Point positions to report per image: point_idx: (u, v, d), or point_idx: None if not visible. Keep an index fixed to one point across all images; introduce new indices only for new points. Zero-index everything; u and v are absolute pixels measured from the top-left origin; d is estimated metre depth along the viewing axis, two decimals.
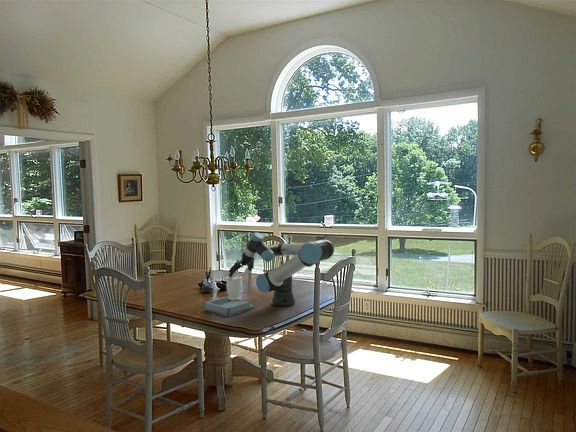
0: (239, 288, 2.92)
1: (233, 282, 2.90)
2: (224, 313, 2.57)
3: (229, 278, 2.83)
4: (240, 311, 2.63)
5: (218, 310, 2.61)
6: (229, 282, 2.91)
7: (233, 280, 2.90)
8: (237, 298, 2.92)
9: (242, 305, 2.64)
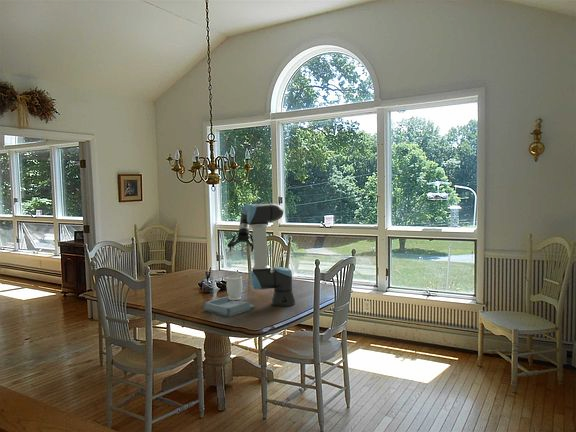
0: (239, 288, 2.92)
1: (233, 282, 2.90)
2: (224, 313, 2.57)
3: None
4: (240, 311, 2.63)
5: (218, 310, 2.61)
6: (229, 282, 2.91)
7: (233, 280, 2.90)
8: (237, 298, 2.92)
9: (242, 305, 2.64)
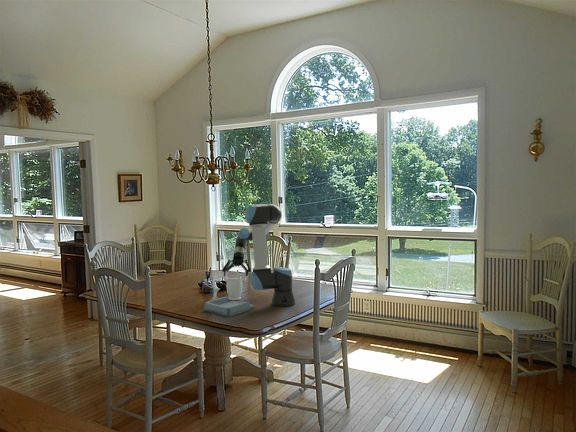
0: (239, 288, 2.92)
1: (233, 282, 2.90)
2: (224, 313, 2.57)
3: None
4: (240, 311, 2.63)
5: (218, 310, 2.61)
6: (229, 282, 2.91)
7: (233, 280, 2.90)
8: (237, 298, 2.92)
9: (242, 305, 2.64)
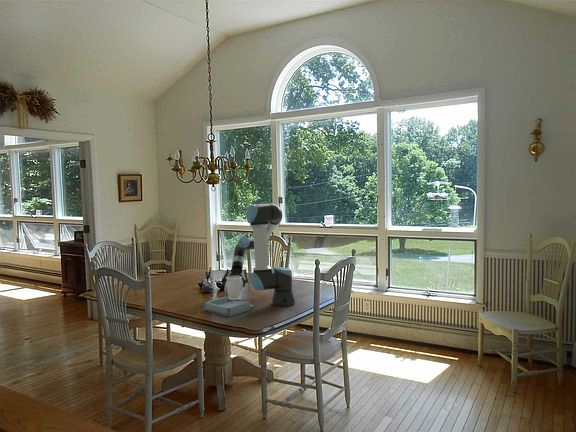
0: (239, 288, 2.92)
1: (233, 282, 2.90)
2: (224, 313, 2.57)
3: None
4: (240, 311, 2.63)
5: (218, 310, 2.61)
6: (229, 282, 2.91)
7: (233, 280, 2.90)
8: (237, 298, 2.92)
9: (242, 305, 2.64)
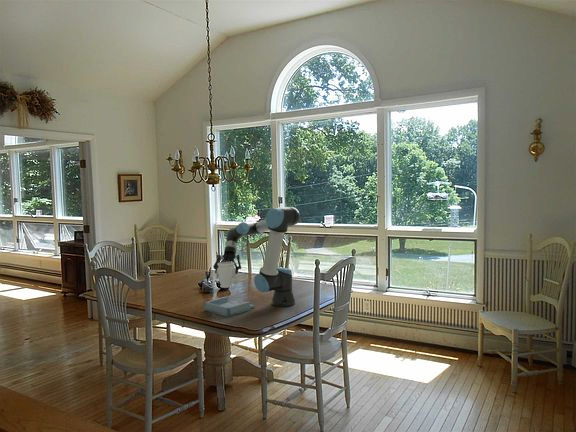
0: (232, 275, 2.72)
1: (224, 268, 2.71)
2: (224, 313, 2.57)
3: None
4: (240, 311, 2.63)
5: (218, 310, 2.61)
6: (220, 268, 2.71)
7: (224, 266, 2.70)
8: (229, 285, 2.73)
9: (242, 305, 2.64)
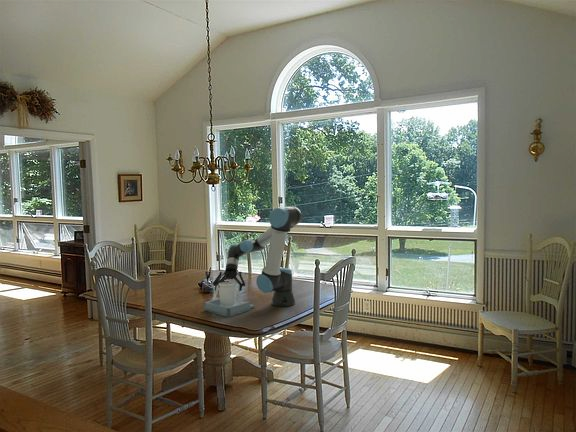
0: (233, 295, 2.66)
1: (226, 289, 2.65)
2: (224, 313, 2.57)
3: None
4: (240, 311, 2.63)
5: (218, 310, 2.61)
6: (222, 289, 2.65)
7: (226, 286, 2.65)
8: (231, 306, 2.67)
9: (242, 305, 2.64)
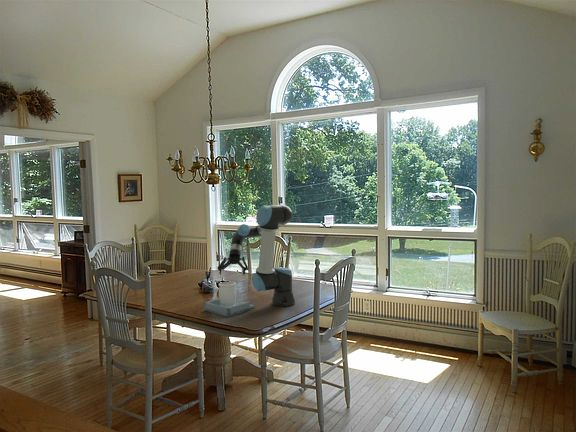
0: (233, 295, 2.66)
1: (226, 289, 2.64)
2: (224, 313, 2.57)
3: None
4: (240, 311, 2.63)
5: (218, 310, 2.61)
6: (222, 289, 2.65)
7: (226, 287, 2.64)
8: (231, 306, 2.67)
9: (242, 305, 2.64)
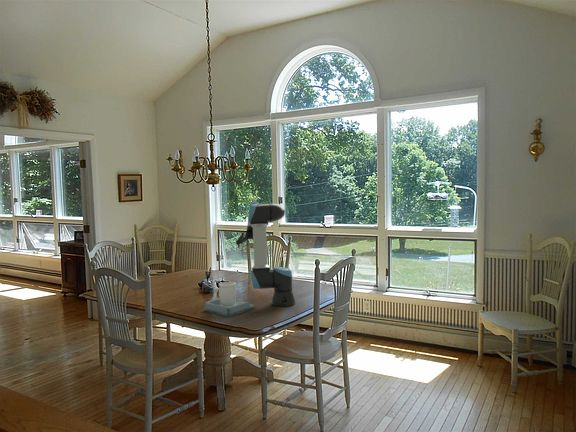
0: (233, 295, 2.66)
1: (226, 289, 2.64)
2: (224, 313, 2.57)
3: None
4: (240, 311, 2.63)
5: (218, 310, 2.61)
6: (222, 289, 2.65)
7: (226, 287, 2.64)
8: (231, 306, 2.67)
9: (242, 305, 2.64)
